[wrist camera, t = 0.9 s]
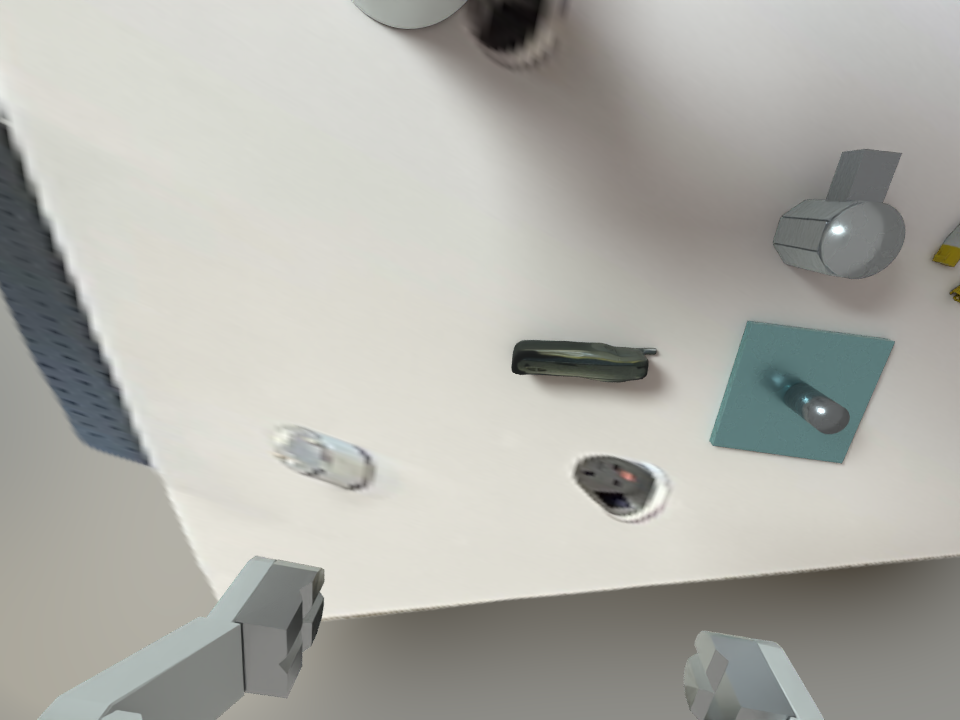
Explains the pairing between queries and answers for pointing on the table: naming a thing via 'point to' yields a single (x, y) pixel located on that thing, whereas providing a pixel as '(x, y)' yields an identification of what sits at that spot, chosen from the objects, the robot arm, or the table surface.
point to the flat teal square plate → (798, 391)
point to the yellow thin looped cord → (950, 255)
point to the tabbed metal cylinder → (846, 221)
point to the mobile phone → (580, 360)
